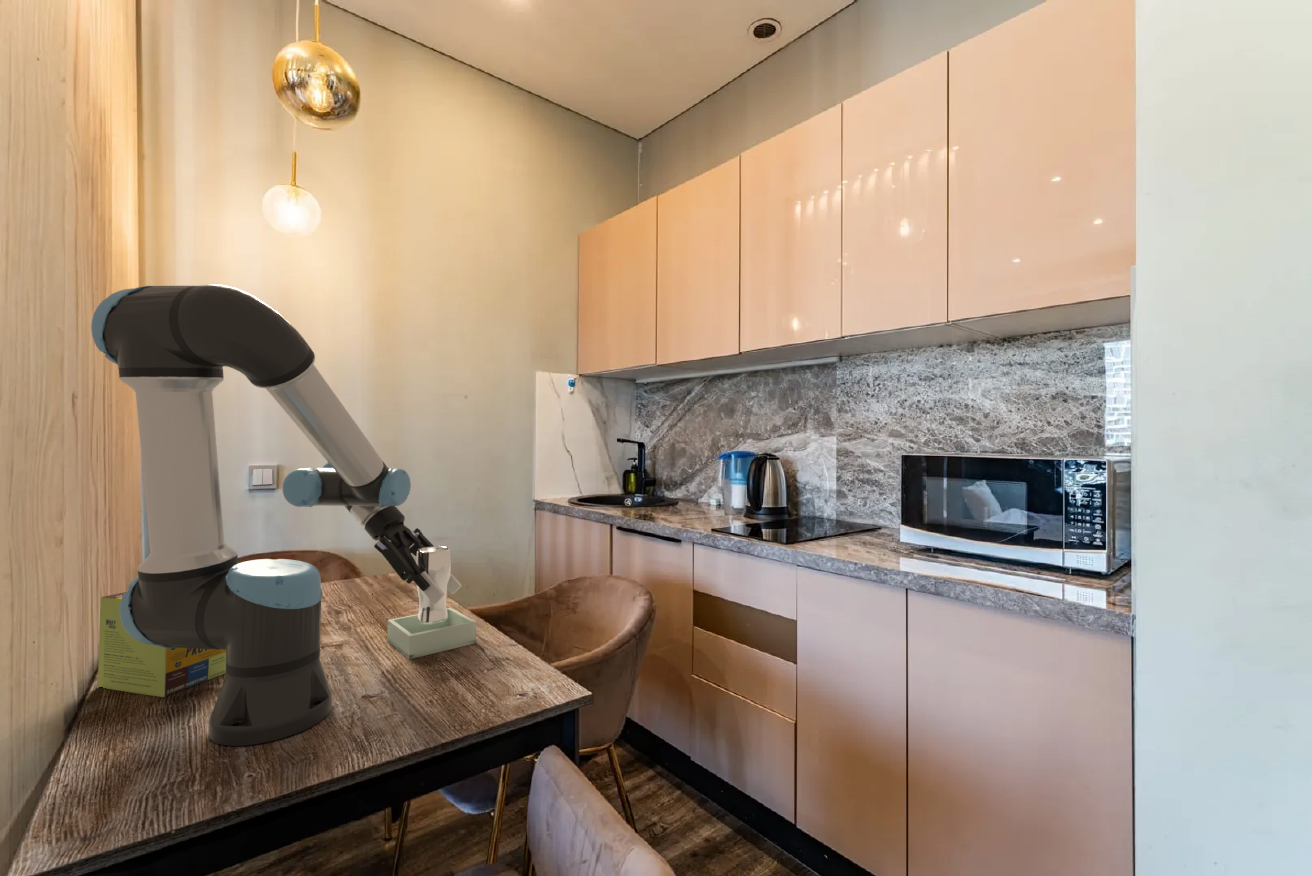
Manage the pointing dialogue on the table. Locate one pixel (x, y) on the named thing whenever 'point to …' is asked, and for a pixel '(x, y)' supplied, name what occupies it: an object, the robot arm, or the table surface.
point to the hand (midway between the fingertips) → (448, 594)
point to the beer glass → (438, 570)
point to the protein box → (148, 659)
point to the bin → (430, 634)
